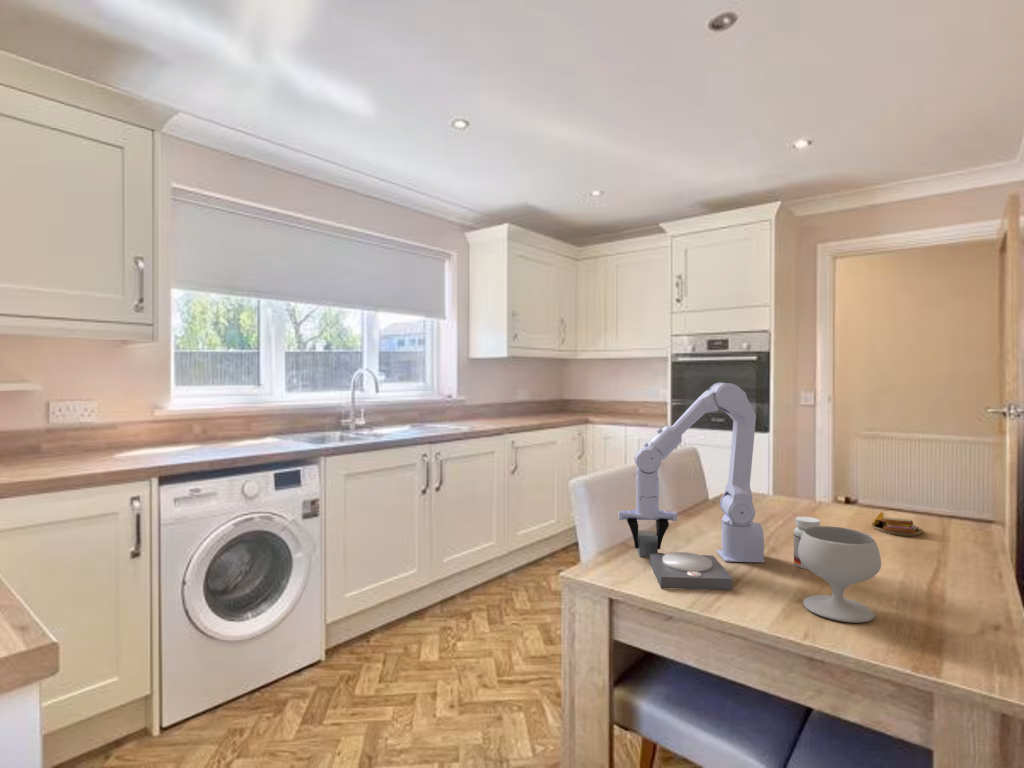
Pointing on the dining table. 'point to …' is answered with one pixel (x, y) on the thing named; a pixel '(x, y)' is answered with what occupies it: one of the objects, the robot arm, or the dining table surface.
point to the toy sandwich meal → (895, 526)
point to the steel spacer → (647, 543)
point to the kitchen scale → (689, 571)
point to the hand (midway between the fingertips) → (647, 547)
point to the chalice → (839, 569)
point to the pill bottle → (802, 526)
